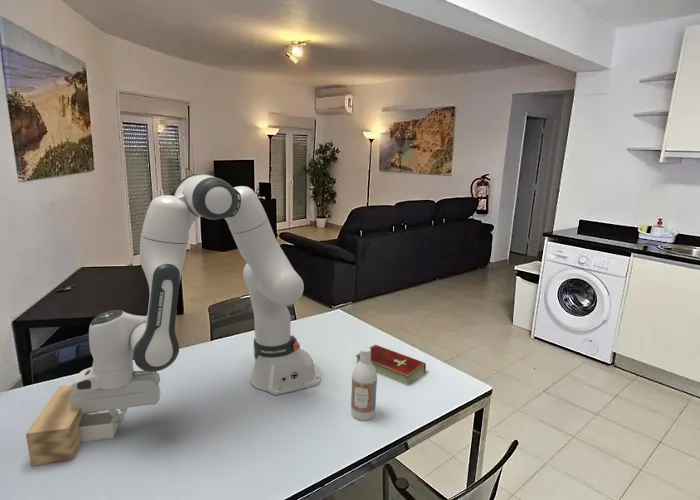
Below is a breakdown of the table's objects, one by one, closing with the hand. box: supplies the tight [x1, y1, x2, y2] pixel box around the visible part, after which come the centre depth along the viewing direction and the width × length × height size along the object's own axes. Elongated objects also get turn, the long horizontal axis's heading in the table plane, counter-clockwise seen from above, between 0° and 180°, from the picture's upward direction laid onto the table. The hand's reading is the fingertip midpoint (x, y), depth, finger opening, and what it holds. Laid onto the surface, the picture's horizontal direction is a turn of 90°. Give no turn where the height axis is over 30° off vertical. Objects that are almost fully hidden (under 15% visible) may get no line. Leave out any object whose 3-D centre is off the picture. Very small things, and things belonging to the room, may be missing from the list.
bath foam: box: [350, 346, 378, 421], centre depth 118 cm, size 7×7×20 cm
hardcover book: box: [355, 344, 427, 386], centre depth 145 cm, size 12×21×4 cm, turn 52°
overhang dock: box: [25, 384, 97, 467], centre depth 106 cm, size 8×20×8 cm, turn 15°
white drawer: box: [78, 409, 120, 443], centre depth 108 cm, size 14×6×4 cm, turn 105°
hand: (120, 421), depth 110 cm, fingers closed
